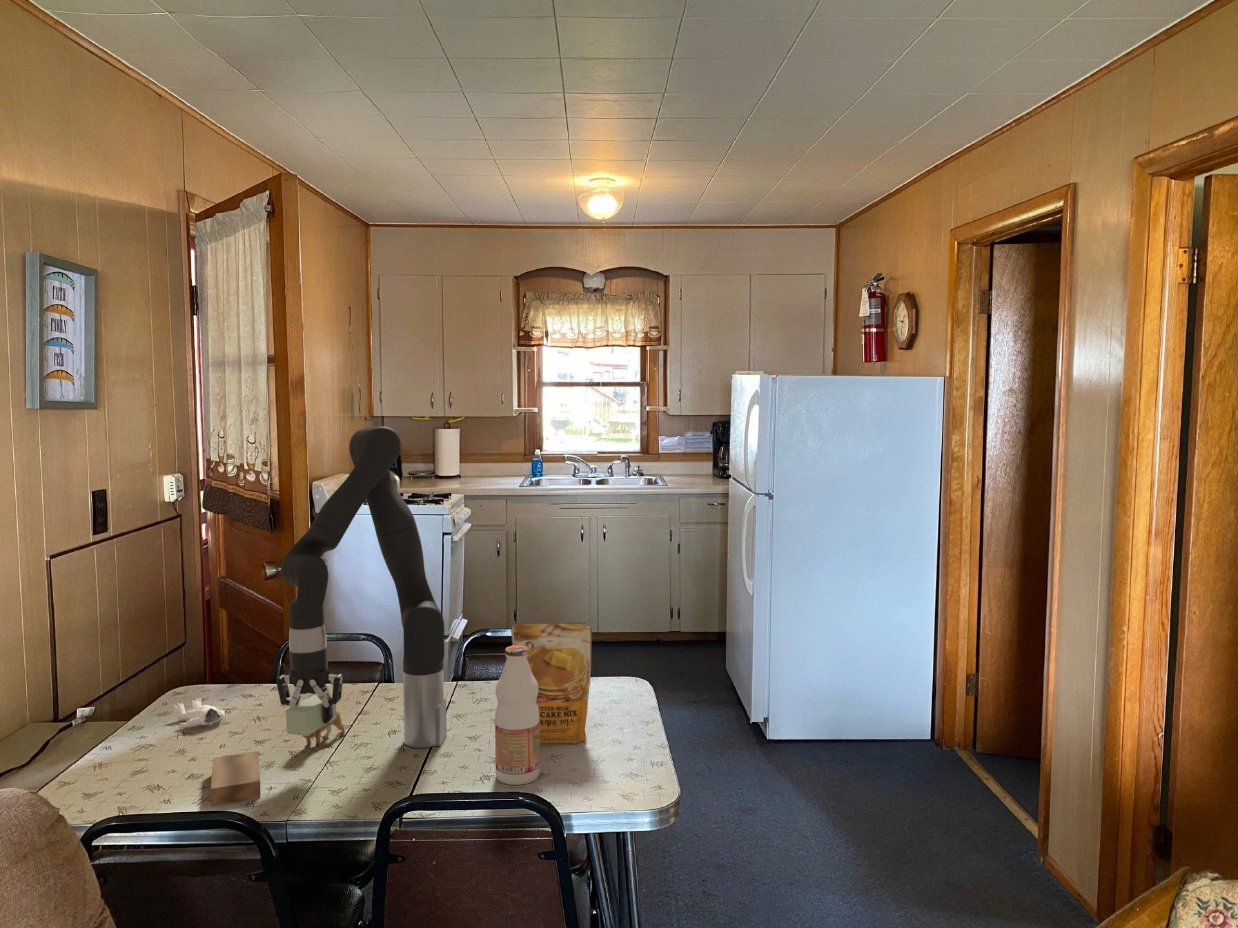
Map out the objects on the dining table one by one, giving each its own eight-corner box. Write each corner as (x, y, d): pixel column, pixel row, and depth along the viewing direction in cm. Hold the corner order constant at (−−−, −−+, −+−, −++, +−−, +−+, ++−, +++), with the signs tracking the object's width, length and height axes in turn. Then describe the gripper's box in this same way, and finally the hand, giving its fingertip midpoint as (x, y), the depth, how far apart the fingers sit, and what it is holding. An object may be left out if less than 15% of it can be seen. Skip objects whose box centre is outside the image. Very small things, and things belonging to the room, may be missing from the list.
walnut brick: (258, 768, 189) (258, 750, 189) (260, 799, 175) (260, 780, 174) (213, 775, 186) (213, 757, 185) (211, 808, 171) (210, 788, 171)
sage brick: (336, 718, 189) (335, 696, 189) (307, 735, 180) (305, 712, 179) (317, 716, 191) (316, 694, 190) (287, 733, 181) (285, 710, 181)
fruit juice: (506, 789, 178) (505, 657, 176) (488, 773, 186) (487, 645, 184) (547, 779, 183) (546, 650, 181) (527, 763, 191) (527, 639, 189)
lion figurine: (314, 756, 195) (313, 717, 194) (293, 753, 196) (292, 715, 195) (350, 732, 209) (349, 696, 208) (331, 730, 210) (330, 694, 210)
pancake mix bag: (513, 734, 208) (512, 620, 205) (592, 734, 208) (592, 619, 206) (510, 745, 201) (509, 627, 199) (592, 745, 201) (591, 627, 199)
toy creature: (209, 693, 223) (232, 692, 216) (213, 717, 223) (236, 716, 216) (162, 706, 214) (184, 706, 207) (165, 731, 213) (188, 731, 206)
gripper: (347, 640, 188) (351, 715, 189) (281, 641, 188) (286, 716, 189) (335, 650, 180) (339, 729, 181) (267, 651, 180) (271, 729, 182)
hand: (312, 722), depth 185 cm, fingers closed on sage brick, 6 cm apart
